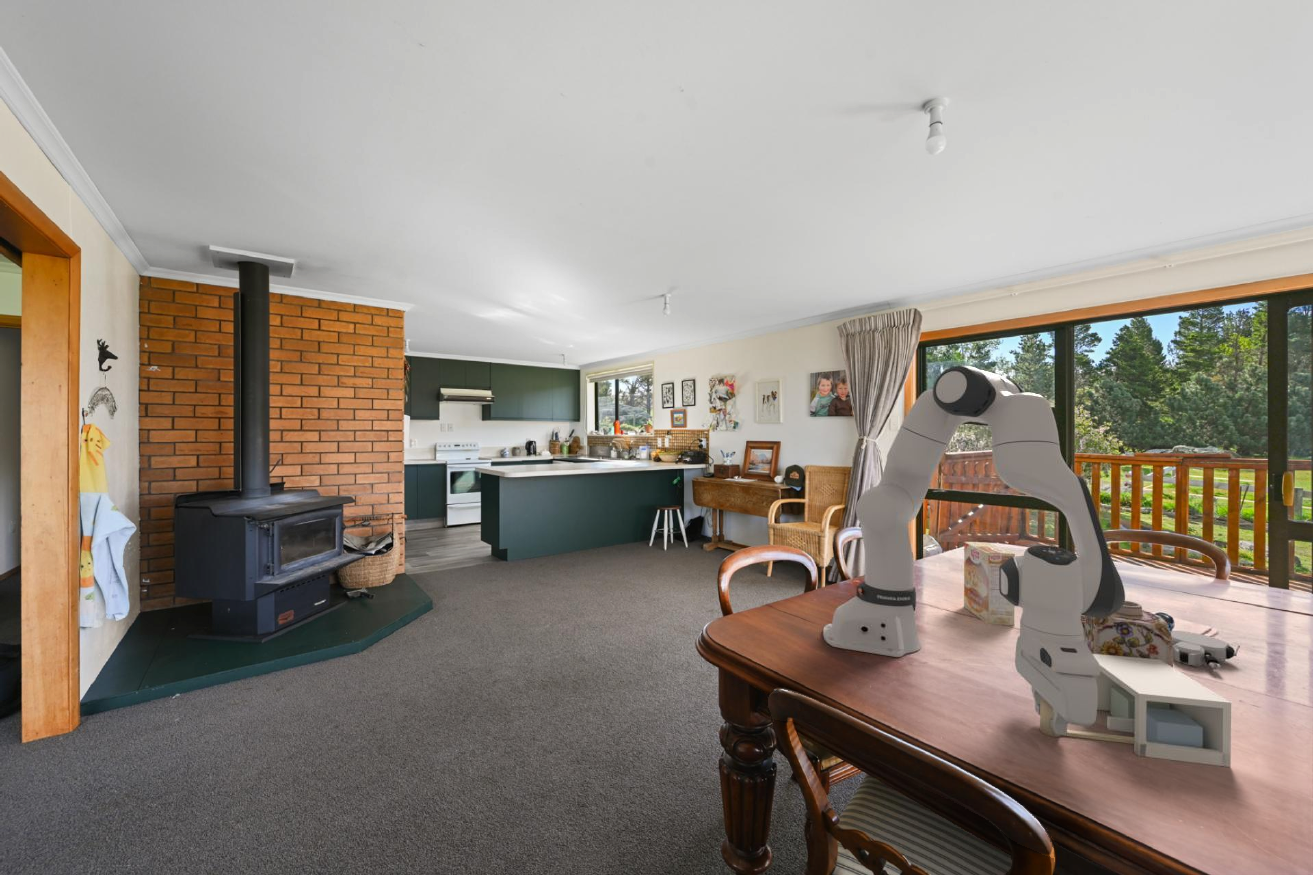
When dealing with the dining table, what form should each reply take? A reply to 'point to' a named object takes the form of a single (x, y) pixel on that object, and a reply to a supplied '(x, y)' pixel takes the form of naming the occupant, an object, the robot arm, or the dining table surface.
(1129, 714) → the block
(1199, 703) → the shelf
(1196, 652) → the robot toy
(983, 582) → the coffeecake box
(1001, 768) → the dining table surface
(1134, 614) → the decorative jar
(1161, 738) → the corded block
